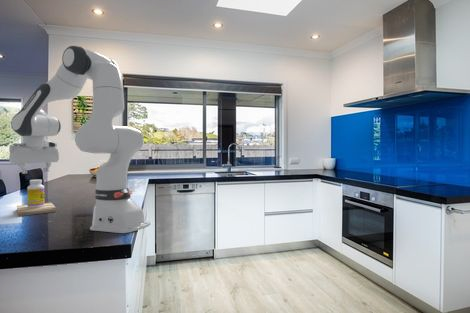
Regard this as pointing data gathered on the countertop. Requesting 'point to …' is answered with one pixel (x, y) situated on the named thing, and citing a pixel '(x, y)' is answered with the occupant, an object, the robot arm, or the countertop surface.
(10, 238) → the countertop surface
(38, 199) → the supplement bottle
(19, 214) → the birch board
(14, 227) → the countertop surface
